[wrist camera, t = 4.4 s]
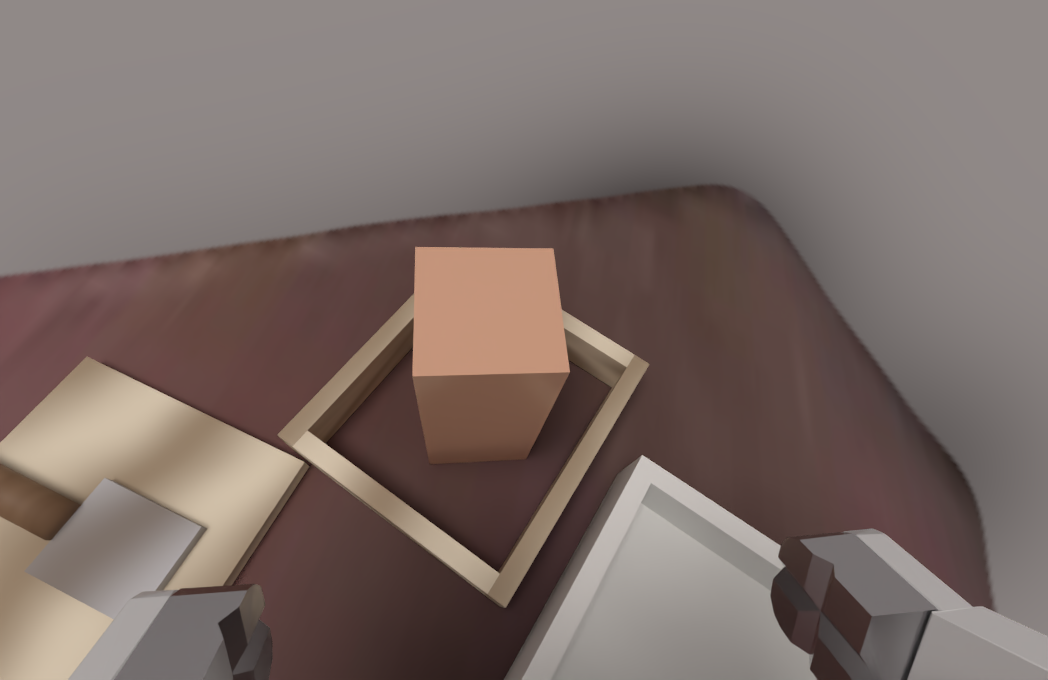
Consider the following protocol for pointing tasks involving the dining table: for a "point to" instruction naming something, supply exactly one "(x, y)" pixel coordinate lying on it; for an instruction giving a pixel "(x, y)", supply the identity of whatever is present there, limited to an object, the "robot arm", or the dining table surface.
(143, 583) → the lid with scoop
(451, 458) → the terracotta brick
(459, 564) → the birch bin
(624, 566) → the white square tray
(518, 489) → the dining table surface
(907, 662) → the robot arm
